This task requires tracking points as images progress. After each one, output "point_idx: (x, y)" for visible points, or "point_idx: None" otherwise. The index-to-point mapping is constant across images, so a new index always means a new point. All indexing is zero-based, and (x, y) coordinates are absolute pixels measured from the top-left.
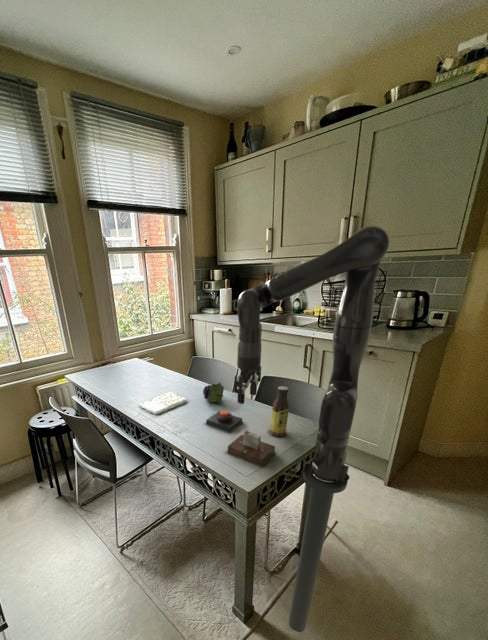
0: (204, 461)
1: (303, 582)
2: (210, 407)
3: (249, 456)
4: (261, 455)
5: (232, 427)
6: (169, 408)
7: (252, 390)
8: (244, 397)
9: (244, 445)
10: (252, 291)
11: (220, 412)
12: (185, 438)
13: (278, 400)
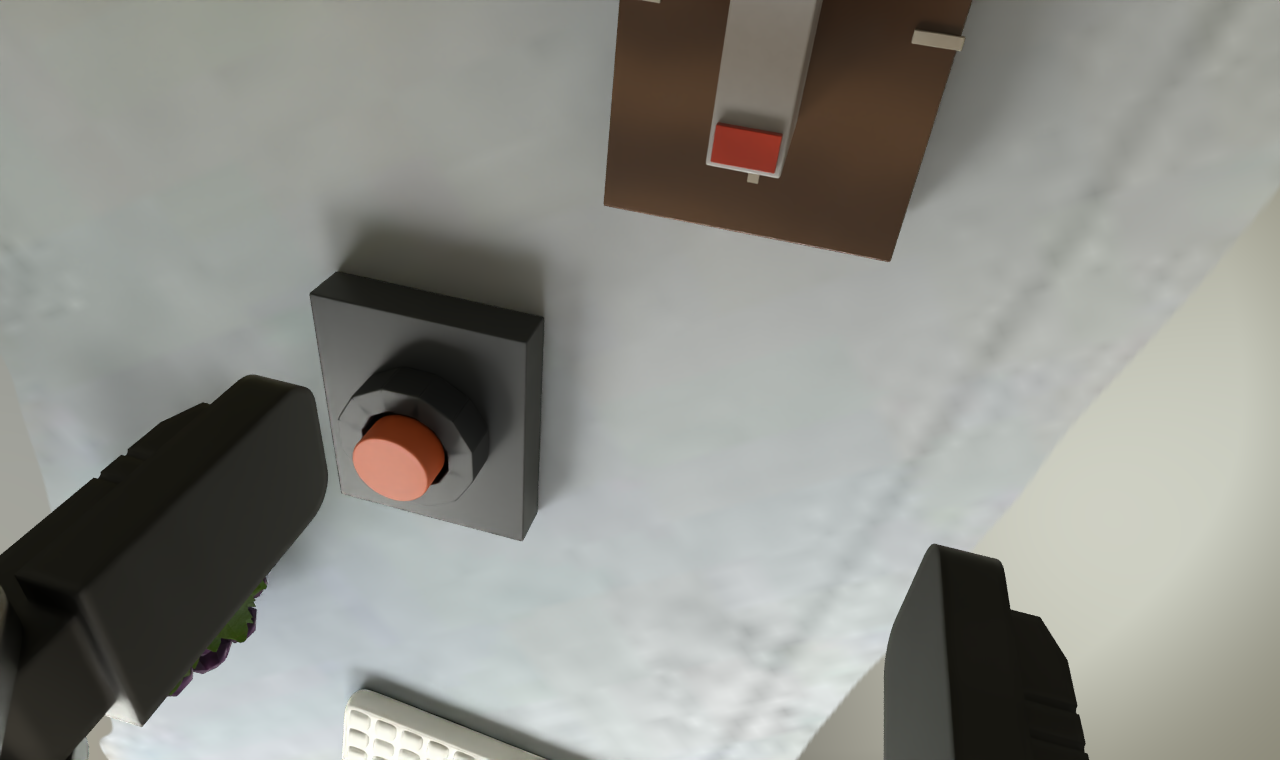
0: (1113, 369)
1: None
2: (309, 546)
3: None
4: None
5: (491, 324)
6: (508, 749)
7: (242, 532)
8: (954, 699)
9: (804, 99)
10: None
11: (413, 499)
12: (810, 583)
13: None
